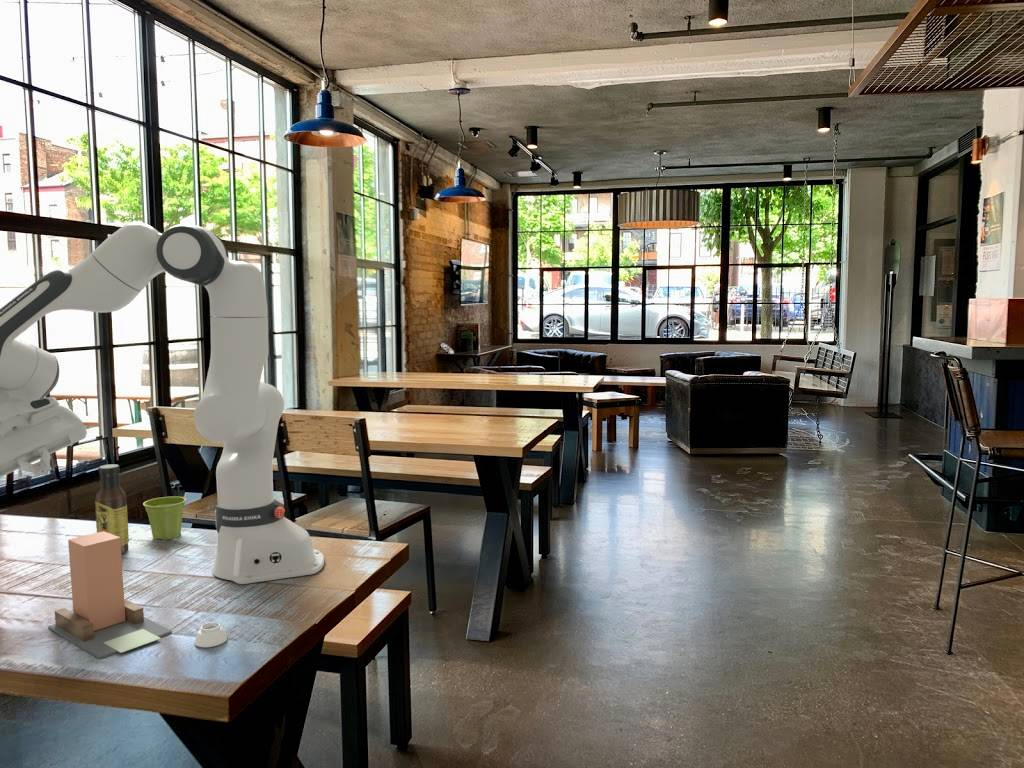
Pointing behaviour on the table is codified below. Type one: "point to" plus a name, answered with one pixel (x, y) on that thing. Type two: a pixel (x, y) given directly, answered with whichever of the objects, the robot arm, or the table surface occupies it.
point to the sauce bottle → (112, 505)
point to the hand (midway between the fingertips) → (42, 471)
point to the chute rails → (85, 628)
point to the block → (97, 579)
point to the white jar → (210, 635)
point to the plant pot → (165, 516)
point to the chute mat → (117, 637)
